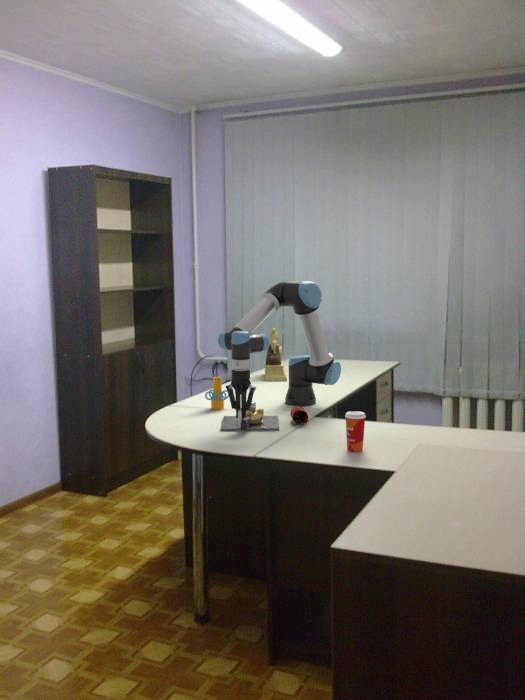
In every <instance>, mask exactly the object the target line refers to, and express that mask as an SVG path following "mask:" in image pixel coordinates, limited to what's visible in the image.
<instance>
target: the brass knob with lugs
mask: <svg viewBox="0 0 525 700" xmlns="http://www.w3.org/2000/svg"><path fill="white" fill-rule="evenodd" d="M240 410H241V409H240ZM264 412H265V411H264V408H257V409H256V412H253V413H252V411H246V418H245V419H243V420H242V421H241V431H240V432H248V431H247V430H248V428H249V426H250V425H251V424H260V423H263V416H264Z"/></svg>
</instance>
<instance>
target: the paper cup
mask: <svg viewBox="0 0 525 700" xmlns="http://www.w3.org/2000/svg"><path fill="white" fill-rule="evenodd" d="M344 417H345V428H346V429H345V431H346V433H345V434H346V449H347V451H348V452H351V453H360V452H363V450H364V449H363V448H364V435H365V423H366V417H367V415H366V413H365V412H363V411H359V410H358V411H357V410H356V411H355V410H353V411H347V412H346V413H345V415H344Z"/></svg>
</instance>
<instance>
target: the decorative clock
mask: <svg viewBox="0 0 525 700" xmlns="http://www.w3.org/2000/svg"><path fill="white" fill-rule="evenodd" d="M269 335H270V343H269V347H268V348H267V349H266V350H267V351H266V357H265V364H264V382H288V370H287V368H285V365H284V360H282V359H283V356H282V355H283V353H282V351H283V348H282V346H281V345H280V344H279V341H280V339H279V338H280V337H279V333H278V332H277V331H276V328H275V327H272V328H271V333H270V334H269Z"/></svg>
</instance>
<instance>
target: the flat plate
mask: <svg viewBox="0 0 525 700" xmlns="http://www.w3.org/2000/svg"><path fill="white" fill-rule="evenodd" d="M246 403H247V401H246ZM256 410H257V407H256V401H253V400H252V403H251V407H250V409H248V410H246V411H252V413H253V412H256ZM220 428H221V429H220V432H242V431H241V427H238V418H236V415H224V416H223V418H222V422H221V427H220ZM279 431H280V421H279V415H263V423H260V424H251V425H250V426H249V428H248V430H247V431H246V432H279Z"/></svg>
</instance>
